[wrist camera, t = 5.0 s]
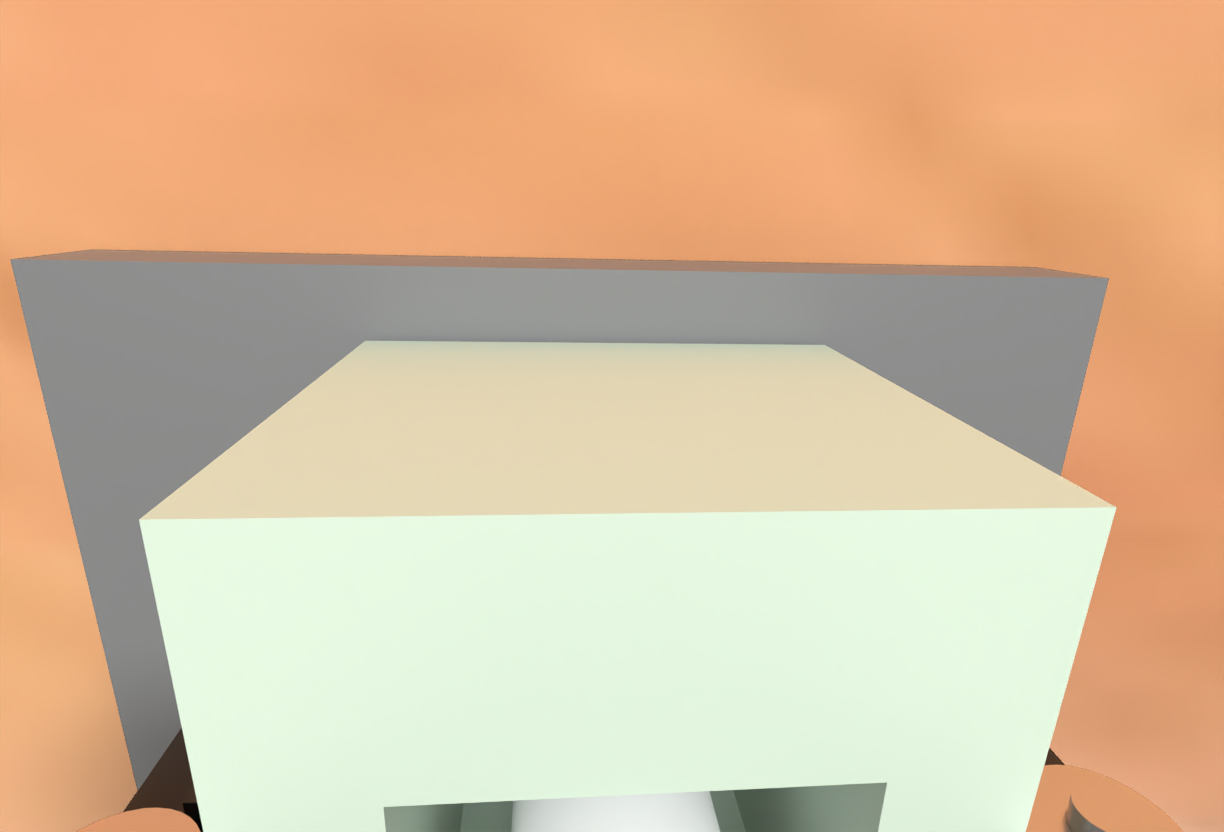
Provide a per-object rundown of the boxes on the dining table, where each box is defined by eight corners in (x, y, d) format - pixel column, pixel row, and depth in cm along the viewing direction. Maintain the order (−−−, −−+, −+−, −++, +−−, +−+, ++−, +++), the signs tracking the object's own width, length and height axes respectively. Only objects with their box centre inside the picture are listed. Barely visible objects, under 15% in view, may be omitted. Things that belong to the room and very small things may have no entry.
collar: (365, 340, 9) (139, 521, 4) (825, 344, 9) (1115, 506, 4) (406, 824, 11) (299, 1293, 6) (766, 806, 12) (915, 1228, 7)
